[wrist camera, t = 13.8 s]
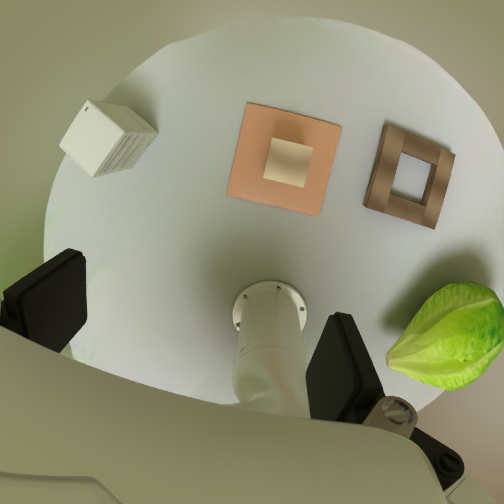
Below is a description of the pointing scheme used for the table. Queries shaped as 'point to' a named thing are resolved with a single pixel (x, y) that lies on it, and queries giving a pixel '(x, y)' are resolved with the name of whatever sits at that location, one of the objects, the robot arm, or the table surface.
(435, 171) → the pocket block
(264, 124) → the pad
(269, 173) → the maple block
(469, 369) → the lettuce
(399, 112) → the table surface
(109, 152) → the supplement box
